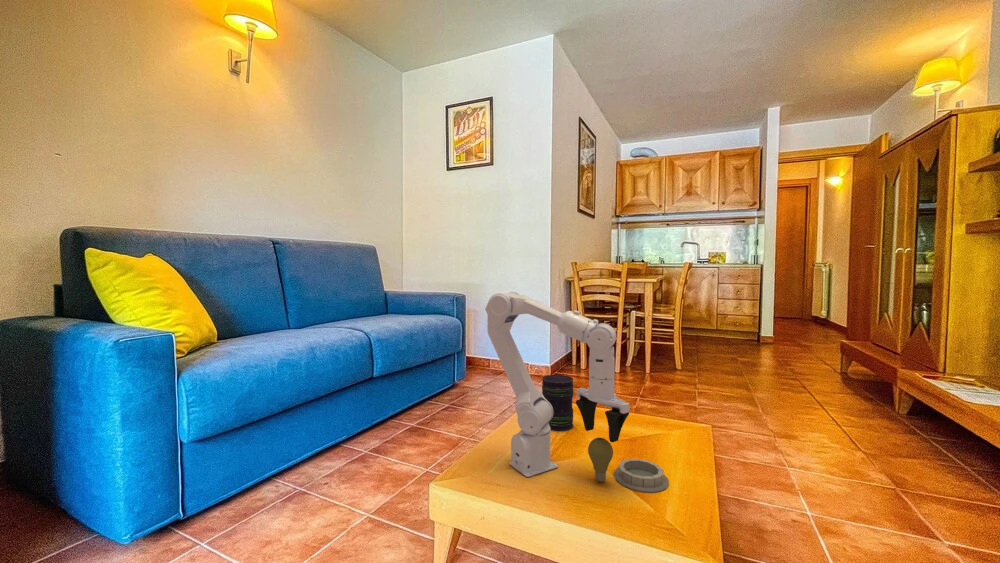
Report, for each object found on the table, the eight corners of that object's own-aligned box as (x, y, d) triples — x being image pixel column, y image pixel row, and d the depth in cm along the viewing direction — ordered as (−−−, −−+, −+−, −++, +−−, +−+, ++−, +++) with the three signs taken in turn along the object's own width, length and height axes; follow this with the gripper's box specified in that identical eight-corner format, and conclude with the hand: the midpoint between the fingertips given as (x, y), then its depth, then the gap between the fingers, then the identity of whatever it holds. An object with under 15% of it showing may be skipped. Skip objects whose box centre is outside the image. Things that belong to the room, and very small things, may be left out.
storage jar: (569, 419, 132) (569, 374, 131) (576, 431, 122) (577, 382, 122) (539, 420, 131) (539, 374, 131) (544, 431, 121) (544, 382, 121)
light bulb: (595, 489, 88) (595, 444, 88) (583, 477, 94) (583, 435, 94) (617, 486, 90) (618, 441, 90) (604, 474, 95) (604, 432, 95)
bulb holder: (645, 498, 85) (645, 486, 85) (603, 474, 95) (603, 464, 95) (679, 483, 91) (679, 472, 91) (636, 462, 102) (637, 452, 102)
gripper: (639, 381, 89) (638, 442, 89) (591, 368, 101) (591, 422, 101) (617, 385, 85) (616, 449, 85) (570, 372, 97) (570, 427, 97)
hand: (601, 435), depth 93 cm, fingers open, 7 cm apart
